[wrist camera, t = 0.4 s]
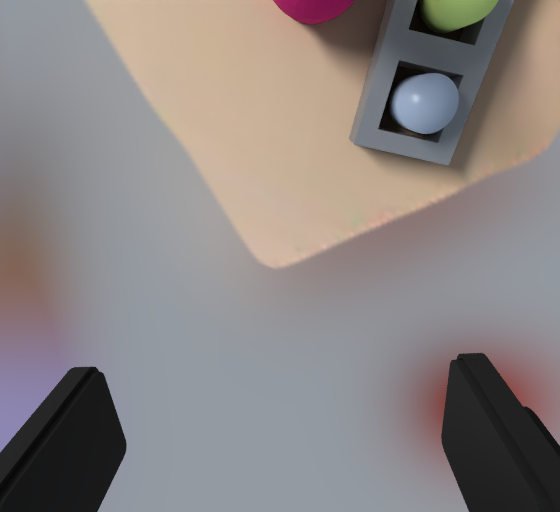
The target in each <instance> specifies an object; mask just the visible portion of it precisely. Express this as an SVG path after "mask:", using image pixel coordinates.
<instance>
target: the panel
mask: <svg viewBox="0 0 560 512" xmlns="http://www.w3.org/2000/svg"><path fill="white" fill-rule="evenodd" d="M513 2H514V0H498V2H497V4H496V5H495V7H494V8H493V9H492V11H491V12H490V13H489V14H488V15H487V16H485V17H484V18H483V19H481V20H480V21H478V22H475V23H473V24H470V25H468V26H465V27H464V30H463V33H462V36H461V38H460V41H459V42H458V41H454V40H450V39H446V38H442V37H438V36H433V35H429V34H425V33H421V32H417V31H413V30H409V26H410V23H411V19H412V16H413V13H414V10H415V6H416V3H417V0H388V1H387V4H386V8H385V11H384V15H383V19H382V22H381V26H380V29H379V33H378V37H377V40H376V44H375V47H374V51H373V55H372V58H371V62H370V65H369V69H368V73H367V76H366V80H365V83H364V87H363V91H362V94H361V98H360V101H359V105H358V109H357V112H356V116H355V119H354V123H353V127H352V130H351V134H350V137H349V139H350V140H351V141H352V142H353V143H354V144H356V145H360V146H364V147H369V148H373V149H378V150H382V151H386V152H391V153H395V154H400V155H404V156H408V157H413V158H417V159H421V160H426V161H430V162H435V163H439V164H443V165H448V166H449V164H450V161H451V159H452V156H453V154H454V151H455V149H456V146H457V144H458V141H459V138H460V136H461V133H462V131H463V128H464V126H465V123H466V121H467V118H468V116H469V113H470V111H471V108H472V106H473V103H474V101H475V98H476V96H477V93H478V91H479V88H480V85H481V83H482V80H483V78H484V75H485V73H486V70H487V68H488V65H489V63H490V60H491V58H492V55H493V53H494V50H495V48H496V45H497V43H498V40H499V38H500V35H501V33H502V30H503V27H504V25H505V22H506V20H507V17H508V15H509V12H510V10H511V7H512V5H513ZM397 65H399V66H403V67H407V68H412V69H416V70H420V71H424V72H428V73H438V74H442V75H445V76H447V77H448V78H450V79H451V80H452V81H453V82H454V84H455V85H456V87H457V90H458V94H459V103H458V108H457V111H456V113H455V115H454V117H453V118H452V120H451V121H450V122H449V123H448V124H447V125H446V126H445V127H444V128H442V129H441V130H439V131H437V132H434V133H430V134H426V136H425V138H423V137H418V136H414V135H410V134H405V133H401V132H397V131H392V130H388V129H384V128H379V124H380V121H381V118H382V114H383V111H384V108H385V104H386V101H387V98H388V95H389V91H390V88H391V85H392V82H393V78H394V75H395V72H396V68H397Z"/></svg>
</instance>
